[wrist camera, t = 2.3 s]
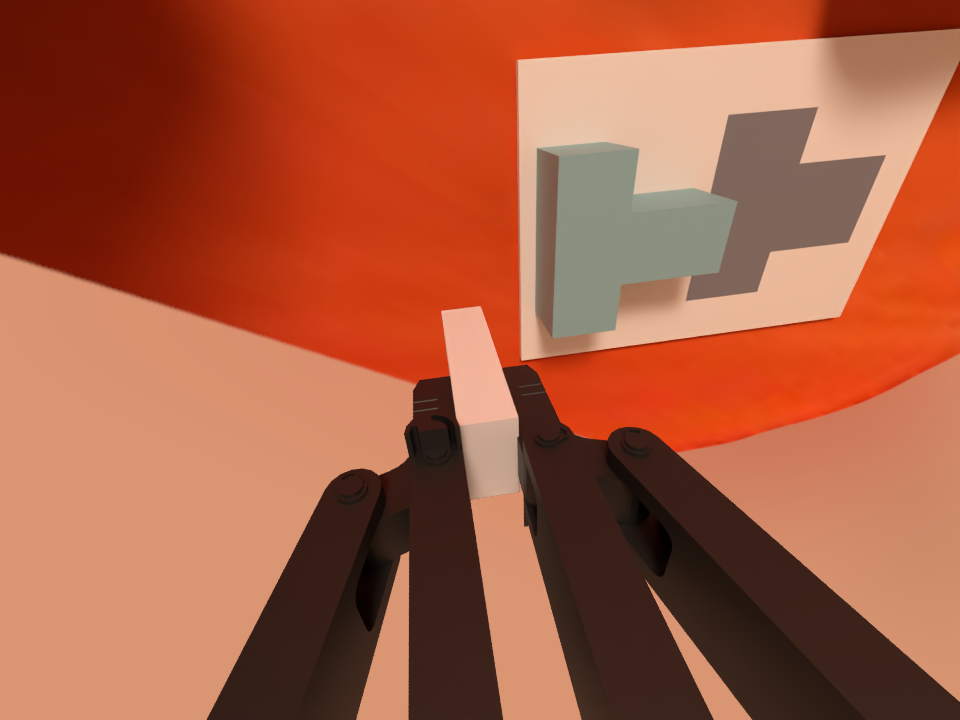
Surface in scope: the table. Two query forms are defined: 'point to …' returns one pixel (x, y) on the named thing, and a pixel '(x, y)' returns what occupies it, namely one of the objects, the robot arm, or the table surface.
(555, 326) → the t block
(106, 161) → the table surface
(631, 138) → the mat
